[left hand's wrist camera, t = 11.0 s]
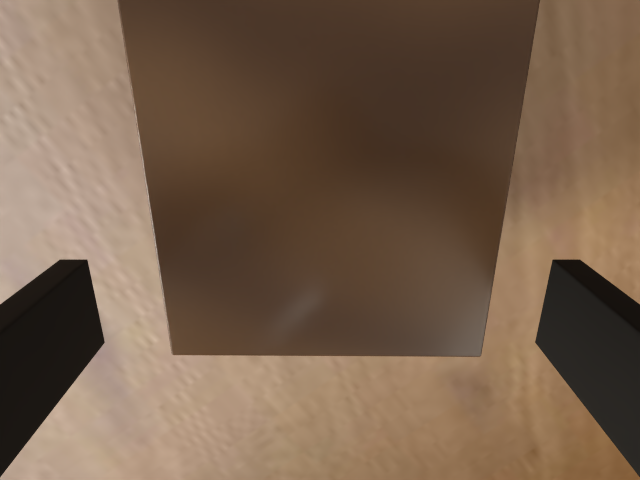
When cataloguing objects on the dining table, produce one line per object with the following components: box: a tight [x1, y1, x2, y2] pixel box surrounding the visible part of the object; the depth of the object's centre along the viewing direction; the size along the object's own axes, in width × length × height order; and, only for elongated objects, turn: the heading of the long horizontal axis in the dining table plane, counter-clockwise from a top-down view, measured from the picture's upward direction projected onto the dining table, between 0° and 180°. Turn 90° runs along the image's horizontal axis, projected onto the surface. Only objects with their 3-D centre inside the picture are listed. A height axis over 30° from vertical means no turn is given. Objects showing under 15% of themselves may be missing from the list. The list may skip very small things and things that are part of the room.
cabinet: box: [118, 0, 540, 357], centre depth 16 cm, size 21×11×10 cm, turn 0°
